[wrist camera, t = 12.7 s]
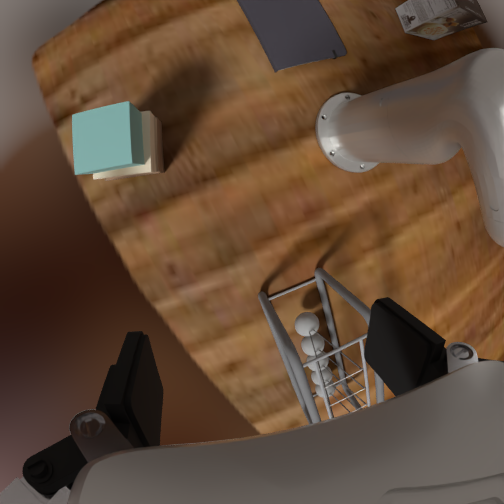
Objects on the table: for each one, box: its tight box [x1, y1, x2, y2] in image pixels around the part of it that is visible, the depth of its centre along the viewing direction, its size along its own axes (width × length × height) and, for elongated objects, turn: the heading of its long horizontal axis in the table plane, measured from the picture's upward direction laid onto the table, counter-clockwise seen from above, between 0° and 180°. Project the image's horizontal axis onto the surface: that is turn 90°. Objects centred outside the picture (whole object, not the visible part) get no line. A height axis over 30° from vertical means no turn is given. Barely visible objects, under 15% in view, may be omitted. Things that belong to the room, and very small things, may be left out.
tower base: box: [105, 116, 164, 181], centre depth 33 cm, size 7×7×5 cm
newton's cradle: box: [258, 268, 384, 424], centre depth 40 cm, size 30×10×18 cm, turn 19°
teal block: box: [72, 101, 145, 175], centre depth 23 cm, size 6×6×6 cm
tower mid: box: [93, 111, 158, 179], centre depth 28 cm, size 6×6×5 cm
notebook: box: [237, 0, 347, 73], centre depth 32 cm, size 13×2×21 cm
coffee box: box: [395, 0, 487, 40], centre depth 27 cm, size 9×6×16 cm
